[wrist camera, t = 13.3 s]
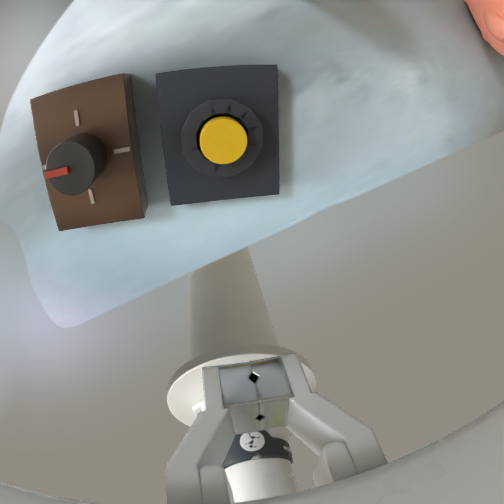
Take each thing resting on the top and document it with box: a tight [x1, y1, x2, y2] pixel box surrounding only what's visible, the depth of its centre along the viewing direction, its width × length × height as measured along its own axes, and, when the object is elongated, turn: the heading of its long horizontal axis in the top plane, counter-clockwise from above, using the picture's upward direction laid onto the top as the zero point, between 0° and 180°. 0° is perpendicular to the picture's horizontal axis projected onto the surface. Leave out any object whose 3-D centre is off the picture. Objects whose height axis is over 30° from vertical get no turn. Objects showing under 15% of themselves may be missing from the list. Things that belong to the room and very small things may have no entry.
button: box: [200, 116, 247, 164], centre depth 23 cm, size 4×4×2 cm
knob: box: [45, 133, 107, 196], centre depth 21 cm, size 4×4×4 cm
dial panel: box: [30, 73, 148, 231], centre depth 24 cm, size 13×9×3 cm
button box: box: [156, 65, 279, 206], centre depth 25 cm, size 12×10×4 cm
